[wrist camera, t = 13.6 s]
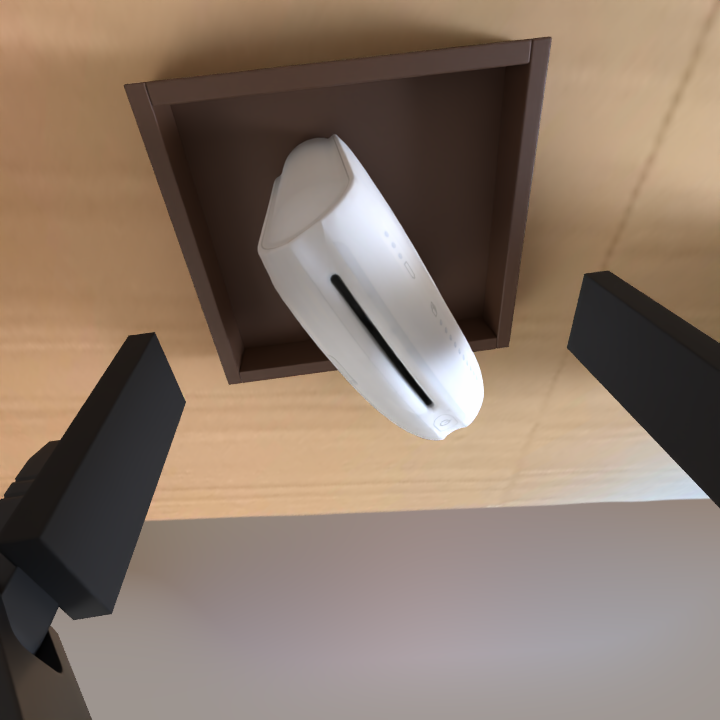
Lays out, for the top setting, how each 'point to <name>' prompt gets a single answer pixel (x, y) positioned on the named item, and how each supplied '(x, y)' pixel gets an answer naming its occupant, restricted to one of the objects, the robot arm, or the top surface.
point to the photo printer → (366, 292)
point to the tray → (380, 160)
